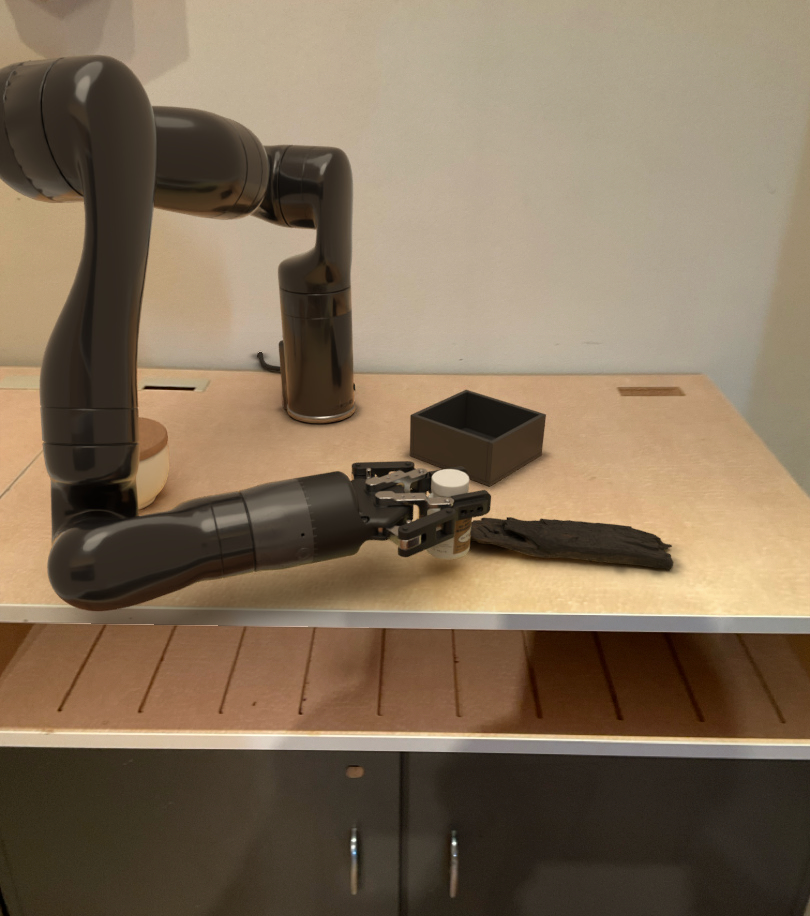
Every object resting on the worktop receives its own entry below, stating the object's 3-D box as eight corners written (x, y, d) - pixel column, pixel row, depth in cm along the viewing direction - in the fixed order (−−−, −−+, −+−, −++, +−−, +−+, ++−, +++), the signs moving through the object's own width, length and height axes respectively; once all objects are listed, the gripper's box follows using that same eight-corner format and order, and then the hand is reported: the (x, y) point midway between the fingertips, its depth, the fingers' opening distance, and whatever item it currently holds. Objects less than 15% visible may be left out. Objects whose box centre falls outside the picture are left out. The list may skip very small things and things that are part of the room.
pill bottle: (466, 564, 74) (471, 491, 70) (420, 558, 74) (422, 485, 70) (472, 539, 77) (477, 468, 73) (428, 534, 78) (431, 464, 74)
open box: (409, 455, 98) (410, 414, 95) (464, 428, 106) (466, 389, 103) (489, 486, 92) (492, 443, 89) (541, 455, 99) (546, 414, 96)
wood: (666, 534, 83) (671, 509, 81) (678, 573, 77) (684, 547, 75) (456, 519, 85) (457, 495, 84) (451, 556, 79) (452, 530, 78)
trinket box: (85, 532, 82) (65, 451, 77) (70, 489, 90) (51, 412, 85) (187, 509, 87) (175, 431, 82) (164, 470, 95) (152, 396, 90)
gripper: (320, 525, 61) (517, 488, 66) (275, 448, 72) (447, 421, 77) (324, 603, 65) (509, 562, 70) (280, 519, 76) (444, 489, 81)
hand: (475, 488), depth 74 cm, fingers closed on pill bottle, 4 cm apart
